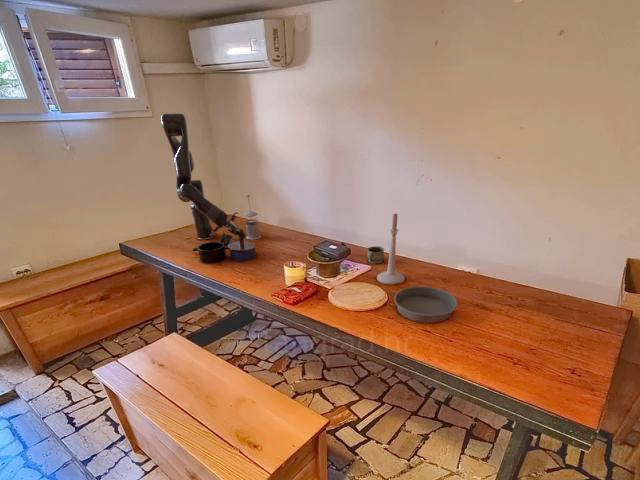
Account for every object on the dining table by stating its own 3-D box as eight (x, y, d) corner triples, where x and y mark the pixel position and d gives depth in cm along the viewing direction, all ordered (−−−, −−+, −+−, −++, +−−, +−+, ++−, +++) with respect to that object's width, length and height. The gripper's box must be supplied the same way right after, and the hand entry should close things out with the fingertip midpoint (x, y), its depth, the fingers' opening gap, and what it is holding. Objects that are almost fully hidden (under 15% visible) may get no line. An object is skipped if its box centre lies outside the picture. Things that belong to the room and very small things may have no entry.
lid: (230, 242, 202) (228, 225, 197) (256, 243, 204) (255, 226, 199) (225, 251, 190) (223, 233, 185) (254, 252, 192) (253, 234, 187)
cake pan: (416, 331, 134) (417, 320, 131) (382, 302, 152) (382, 293, 150) (469, 316, 141) (471, 306, 139) (431, 291, 160) (432, 281, 158)
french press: (256, 233, 234) (250, 191, 220) (266, 237, 227) (261, 194, 212) (242, 237, 228) (236, 194, 214) (253, 241, 221) (246, 197, 207)
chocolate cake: (229, 250, 211) (235, 231, 213) (217, 246, 210) (222, 227, 212) (231, 256, 220) (236, 238, 222) (219, 253, 219) (224, 234, 221)
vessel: (373, 255, 197) (374, 244, 193) (388, 258, 193) (389, 247, 189) (362, 262, 189) (362, 251, 185) (377, 266, 185) (377, 254, 181)
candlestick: (388, 286, 165) (393, 219, 148) (371, 277, 174) (374, 212, 157) (410, 280, 170) (417, 213, 153) (392, 271, 179) (397, 207, 162)
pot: (198, 255, 204) (195, 242, 200) (233, 253, 205) (230, 241, 201) (192, 264, 192) (189, 251, 188) (229, 262, 193) (227, 249, 189)
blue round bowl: (232, 252, 205) (231, 244, 203) (257, 251, 206) (256, 243, 203) (229, 261, 194) (227, 252, 191) (255, 260, 195) (253, 251, 192)
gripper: (220, 212, 179) (249, 235, 188) (220, 206, 190) (247, 227, 199) (211, 224, 180) (240, 246, 190) (212, 217, 192) (239, 238, 201)
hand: (244, 236), depth 194 cm, fingers open, 3 cm apart
